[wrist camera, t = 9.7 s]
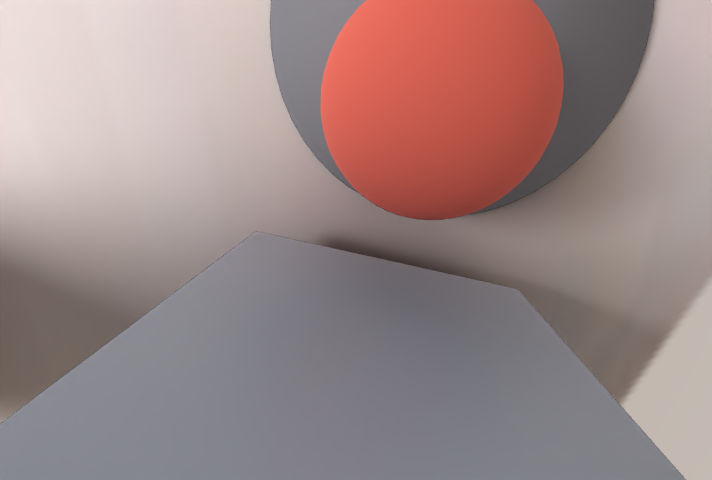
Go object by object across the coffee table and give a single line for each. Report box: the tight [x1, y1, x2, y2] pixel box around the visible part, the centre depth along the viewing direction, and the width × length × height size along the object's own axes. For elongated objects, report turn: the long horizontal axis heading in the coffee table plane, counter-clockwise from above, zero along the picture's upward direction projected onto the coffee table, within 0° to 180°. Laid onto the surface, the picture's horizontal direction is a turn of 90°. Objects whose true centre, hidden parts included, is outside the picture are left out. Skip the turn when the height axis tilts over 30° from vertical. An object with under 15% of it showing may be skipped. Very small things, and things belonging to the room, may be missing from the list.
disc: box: [270, 0, 654, 214], centre depth 9 cm, size 10×10×1 cm
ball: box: [321, 0, 564, 220], centre depth 8 cm, size 5×5×5 cm
